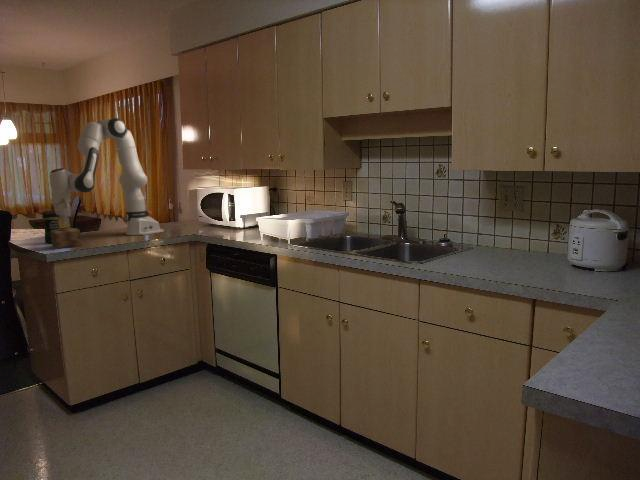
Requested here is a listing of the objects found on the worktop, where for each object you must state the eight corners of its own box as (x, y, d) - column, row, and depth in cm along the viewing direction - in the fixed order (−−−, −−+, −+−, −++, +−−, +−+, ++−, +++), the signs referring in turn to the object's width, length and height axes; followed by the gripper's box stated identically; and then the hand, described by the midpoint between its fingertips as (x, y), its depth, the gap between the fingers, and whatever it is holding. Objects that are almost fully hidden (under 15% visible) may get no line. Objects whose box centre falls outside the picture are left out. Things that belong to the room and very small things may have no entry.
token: (69, 226, 278) (68, 217, 277) (70, 227, 276) (69, 218, 275) (59, 227, 275) (58, 218, 274) (60, 228, 273) (59, 219, 272)
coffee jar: (46, 244, 286) (42, 211, 283) (44, 242, 293) (40, 211, 290) (65, 242, 292) (61, 210, 289) (62, 240, 298) (58, 209, 295)
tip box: (76, 243, 286) (74, 227, 284) (81, 246, 276) (79, 229, 275) (52, 246, 278) (50, 230, 277) (57, 249, 269) (55, 232, 267)
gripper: (72, 199, 267) (75, 225, 269) (63, 197, 283) (66, 222, 285) (59, 200, 263) (62, 226, 265) (50, 198, 279) (54, 223, 281)
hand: (64, 224), depth 275 cm, fingers closed on token, 2 cm apart
